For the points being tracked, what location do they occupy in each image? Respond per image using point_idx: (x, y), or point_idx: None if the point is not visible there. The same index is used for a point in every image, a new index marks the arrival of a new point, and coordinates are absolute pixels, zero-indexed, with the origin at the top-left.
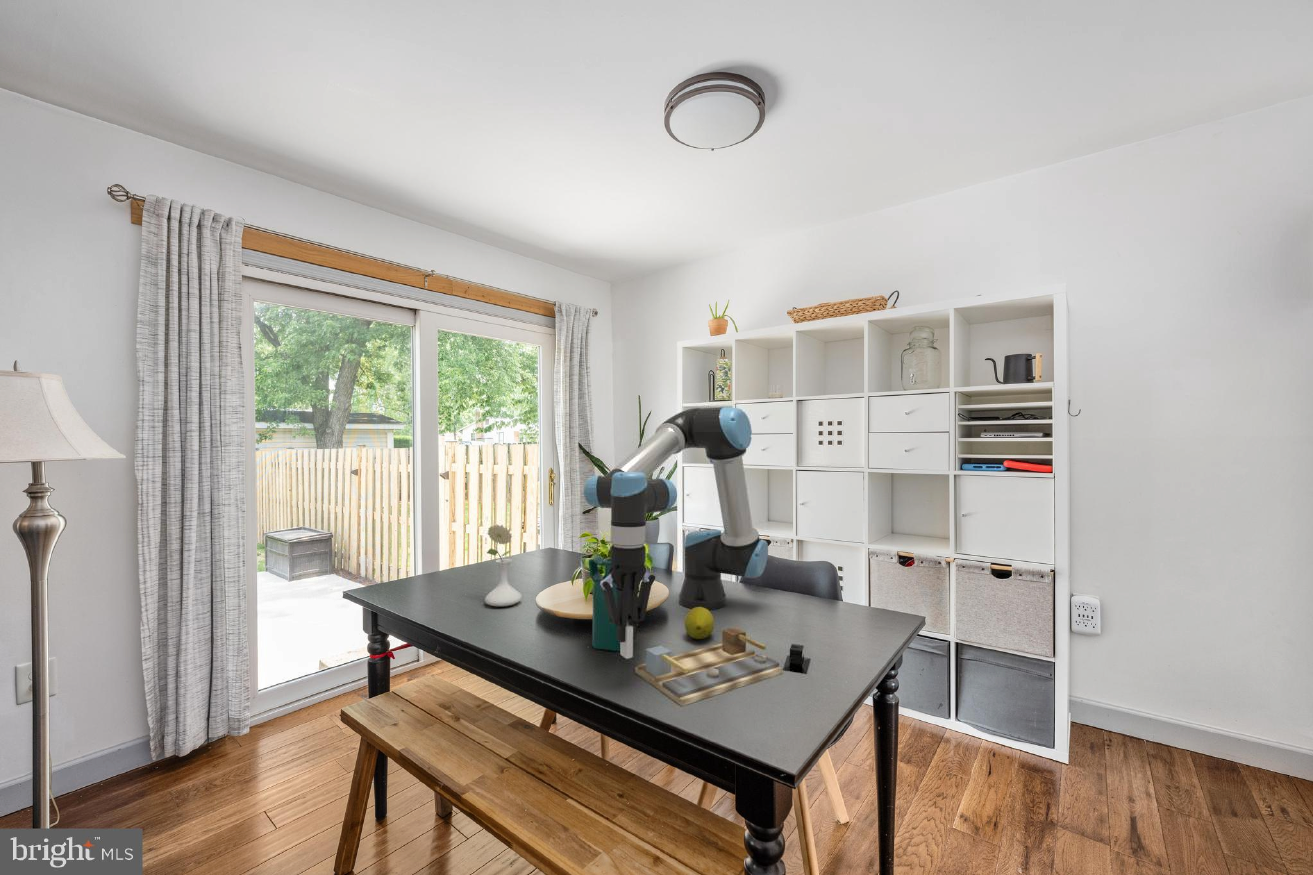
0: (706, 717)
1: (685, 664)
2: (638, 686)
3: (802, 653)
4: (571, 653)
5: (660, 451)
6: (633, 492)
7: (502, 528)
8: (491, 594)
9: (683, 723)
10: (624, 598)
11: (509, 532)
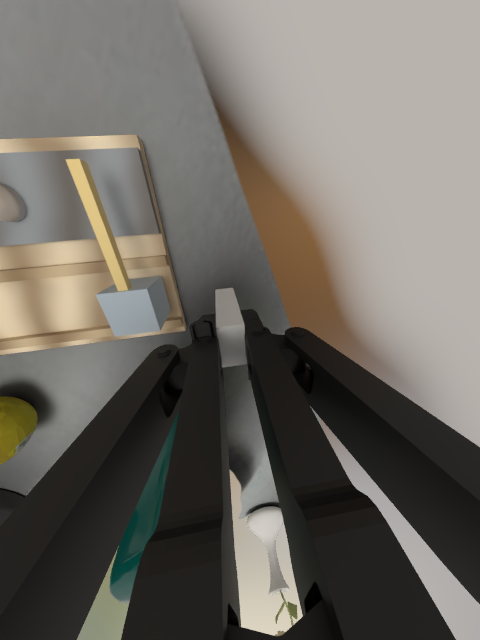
0: (92, 26)
1: (76, 305)
2: (200, 277)
3: None
4: (250, 406)
5: None
6: None
7: None
8: (281, 524)
9: (168, 40)
10: (314, 454)
11: None
